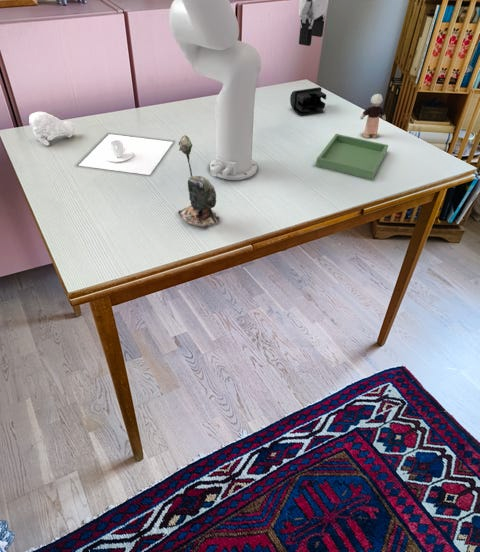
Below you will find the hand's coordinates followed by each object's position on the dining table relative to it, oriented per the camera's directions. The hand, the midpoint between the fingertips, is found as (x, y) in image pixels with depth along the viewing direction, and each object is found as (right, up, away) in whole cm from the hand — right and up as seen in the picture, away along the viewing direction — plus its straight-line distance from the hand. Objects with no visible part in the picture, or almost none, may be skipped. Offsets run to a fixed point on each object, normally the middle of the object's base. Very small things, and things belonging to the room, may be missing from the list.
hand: (310, 40), depth 125 cm
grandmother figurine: (+20, -21, +17) cm, 34 cm away
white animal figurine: (-73, -24, +10) cm, 77 cm away
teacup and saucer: (-51, -29, +5) cm, 59 cm away
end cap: (+3, -8, +31) cm, 32 cm away
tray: (+13, -31, +5) cm, 34 cm away
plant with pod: (-28, -51, -19) cm, 61 cm away
